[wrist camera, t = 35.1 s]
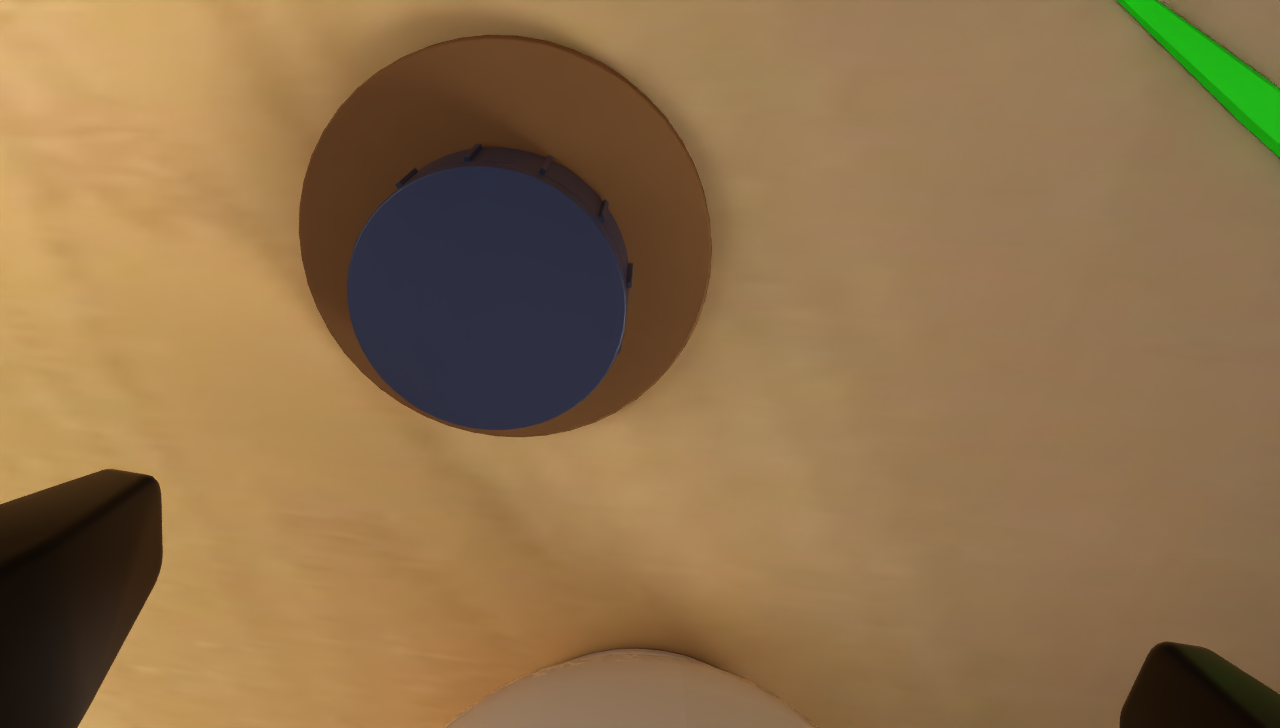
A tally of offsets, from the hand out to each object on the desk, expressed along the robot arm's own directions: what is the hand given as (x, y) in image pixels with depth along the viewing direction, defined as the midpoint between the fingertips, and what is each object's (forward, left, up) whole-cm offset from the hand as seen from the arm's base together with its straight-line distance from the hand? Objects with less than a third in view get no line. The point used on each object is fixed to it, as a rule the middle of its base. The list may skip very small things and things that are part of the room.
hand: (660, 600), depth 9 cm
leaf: (+6, -10, -12) cm, 17 cm away
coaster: (-1, +3, -11) cm, 12 cm away
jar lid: (-1, +3, -9) cm, 10 cm away
